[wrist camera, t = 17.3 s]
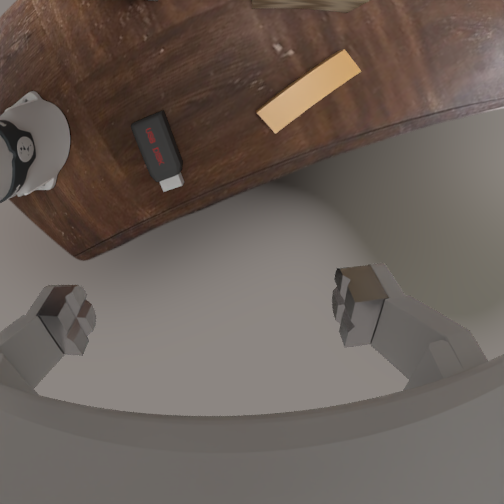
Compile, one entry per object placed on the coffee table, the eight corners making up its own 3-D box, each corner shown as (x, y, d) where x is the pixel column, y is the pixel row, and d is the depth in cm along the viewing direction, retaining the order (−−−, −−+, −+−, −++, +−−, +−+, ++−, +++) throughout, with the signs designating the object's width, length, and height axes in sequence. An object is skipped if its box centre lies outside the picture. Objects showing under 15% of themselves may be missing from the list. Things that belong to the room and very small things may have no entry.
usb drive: (164, 109, 39) (159, 111, 36) (190, 179, 45) (187, 185, 43) (134, 122, 39) (128, 125, 37) (161, 189, 45) (156, 195, 43)
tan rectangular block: (255, 110, 39) (256, 112, 37) (338, 51, 34) (344, 49, 32) (273, 130, 41) (275, 133, 39) (353, 71, 36) (361, 71, 33)
